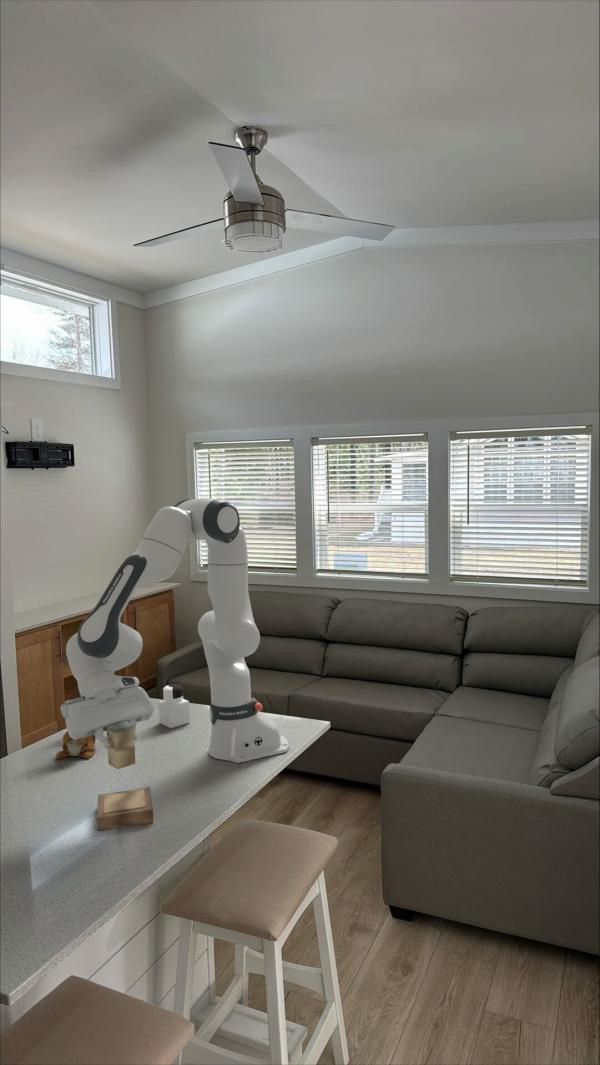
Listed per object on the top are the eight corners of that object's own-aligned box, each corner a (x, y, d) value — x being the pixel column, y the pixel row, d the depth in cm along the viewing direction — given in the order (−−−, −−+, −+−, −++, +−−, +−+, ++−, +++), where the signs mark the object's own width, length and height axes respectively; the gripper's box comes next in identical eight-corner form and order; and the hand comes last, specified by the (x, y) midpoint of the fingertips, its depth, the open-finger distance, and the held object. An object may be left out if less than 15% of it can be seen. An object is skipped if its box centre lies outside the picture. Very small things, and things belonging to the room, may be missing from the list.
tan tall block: (126, 758, 165) (124, 720, 164) (135, 763, 161) (133, 724, 161) (108, 763, 162) (105, 725, 161) (117, 769, 158) (114, 730, 158)
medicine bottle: (179, 717, 228) (177, 681, 227) (190, 723, 222) (188, 685, 221) (159, 723, 223) (157, 686, 222) (170, 728, 218) (168, 690, 217)
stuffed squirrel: (53, 760, 196) (49, 714, 195) (78, 741, 210) (75, 698, 209) (86, 762, 195) (83, 715, 193) (109, 742, 208) (106, 699, 207)
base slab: (150, 799, 170) (149, 786, 170) (153, 822, 158) (152, 808, 158) (99, 807, 167) (98, 793, 167) (97, 831, 155) (96, 816, 155)
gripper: (60, 695, 159) (81, 749, 152) (143, 676, 172) (165, 725, 165) (54, 710, 163) (74, 763, 156) (136, 690, 176) (157, 738, 169)
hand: (121, 743), depth 161 cm, fingers closed on tan tall block, 4 cm apart
